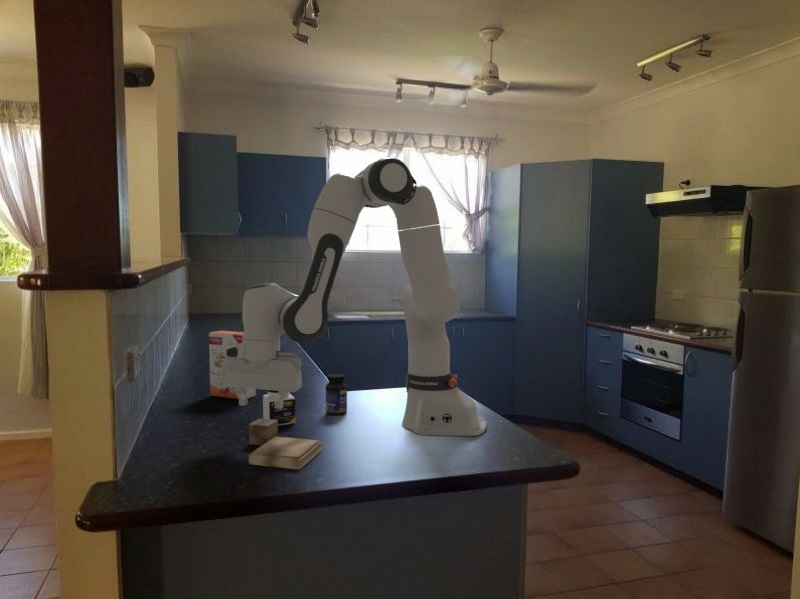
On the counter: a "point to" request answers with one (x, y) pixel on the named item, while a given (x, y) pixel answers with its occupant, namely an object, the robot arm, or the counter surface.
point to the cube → (262, 431)
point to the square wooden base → (286, 452)
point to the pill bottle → (336, 395)
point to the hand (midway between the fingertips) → (260, 406)
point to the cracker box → (216, 347)
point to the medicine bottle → (282, 415)
